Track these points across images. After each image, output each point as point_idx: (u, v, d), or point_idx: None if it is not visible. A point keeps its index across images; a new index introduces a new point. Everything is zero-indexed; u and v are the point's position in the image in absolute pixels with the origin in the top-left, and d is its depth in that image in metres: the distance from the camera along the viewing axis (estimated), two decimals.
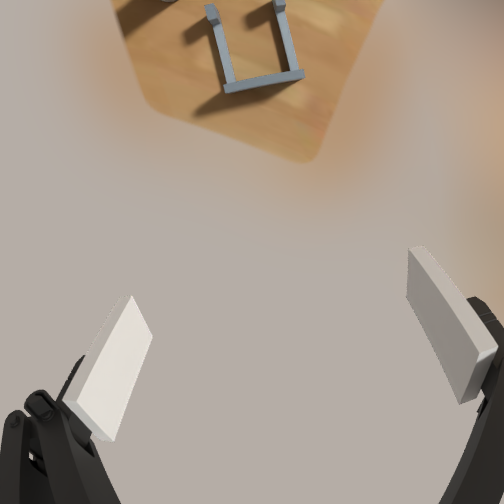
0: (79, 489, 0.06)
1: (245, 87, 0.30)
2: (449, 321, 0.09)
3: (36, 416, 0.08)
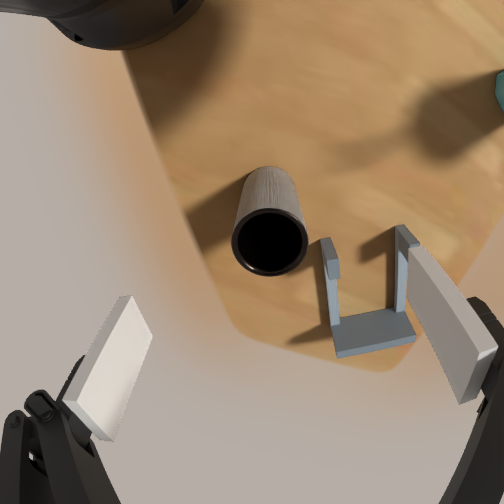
0: (78, 489, 0.06)
1: (358, 353, 0.30)
2: (449, 321, 0.09)
3: (36, 416, 0.08)
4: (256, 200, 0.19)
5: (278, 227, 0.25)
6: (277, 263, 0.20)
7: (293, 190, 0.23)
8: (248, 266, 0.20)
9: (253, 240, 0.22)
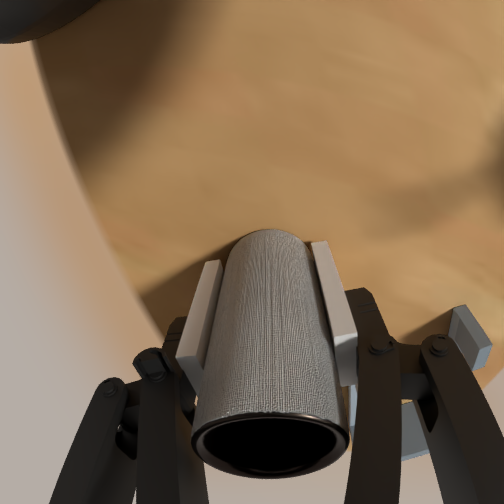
0: (170, 469, 0.07)
1: None
2: (326, 308, 0.12)
3: (143, 374, 0.10)
4: (242, 364, 0.08)
5: None
6: (283, 454, 0.09)
7: (316, 295, 0.12)
8: (228, 470, 0.09)
9: None
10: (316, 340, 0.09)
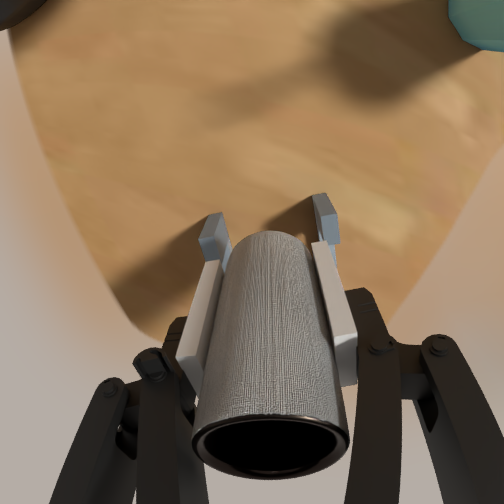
0: (171, 469, 0.07)
1: None
2: (325, 308, 0.12)
3: (143, 374, 0.10)
4: (242, 366, 0.08)
5: None
6: (283, 455, 0.09)
7: (317, 296, 0.12)
8: (229, 471, 0.09)
9: None
10: (316, 342, 0.09)
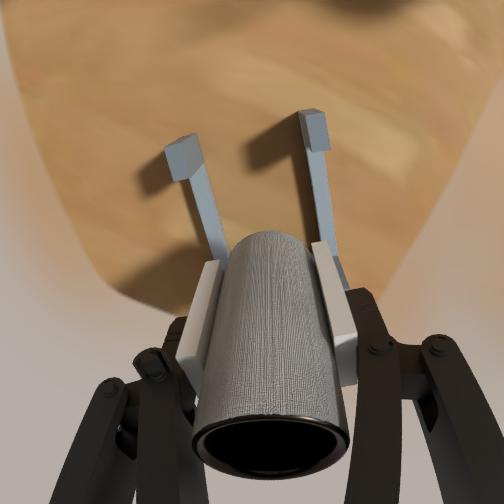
0: (170, 469, 0.07)
1: None
2: (326, 308, 0.12)
3: (143, 374, 0.10)
4: (242, 367, 0.08)
5: None
6: (283, 455, 0.09)
7: (317, 296, 0.12)
8: (229, 471, 0.09)
9: None
10: (316, 342, 0.09)
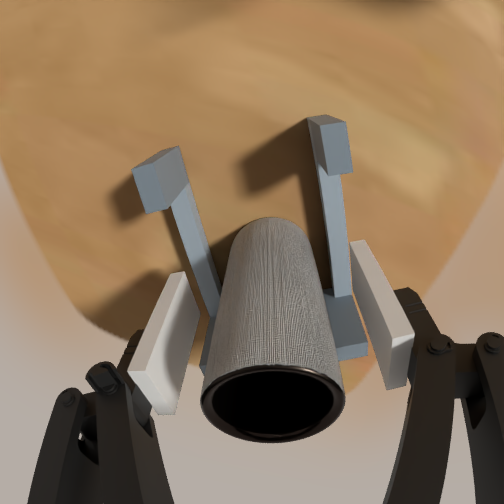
0: (131, 474, 0.06)
1: None
2: (374, 309, 0.11)
3: (97, 388, 0.09)
4: (247, 327, 0.10)
5: None
6: (285, 419, 0.11)
7: (314, 273, 0.13)
8: (234, 433, 0.10)
9: None
10: (313, 309, 0.11)
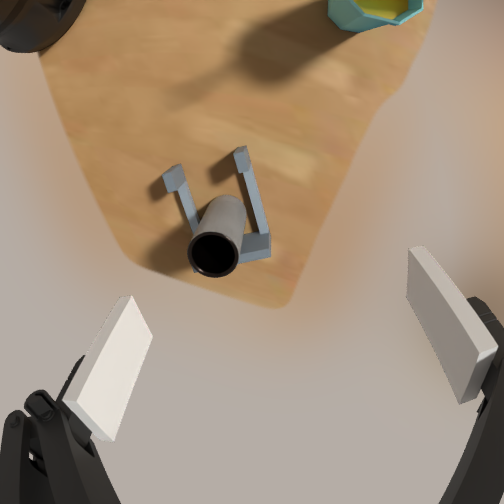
0: (79, 489, 0.06)
1: None
2: (449, 321, 0.09)
3: (36, 416, 0.08)
4: (204, 225, 0.28)
5: None
6: (221, 268, 0.29)
7: (237, 214, 0.32)
8: (200, 271, 0.28)
9: (208, 252, 0.31)
10: (230, 222, 0.29)
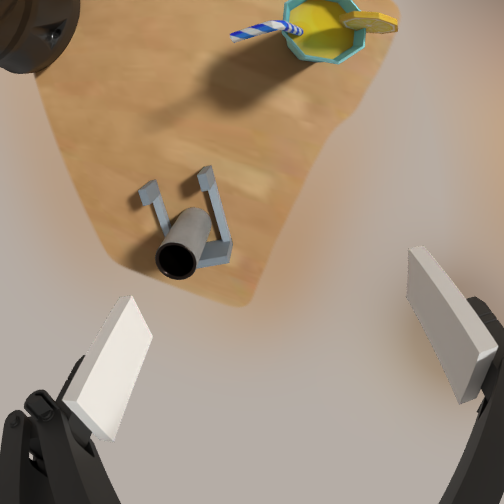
0: (79, 489, 0.06)
1: None
2: (449, 321, 0.09)
3: (36, 416, 0.08)
4: (169, 236, 0.33)
5: None
6: (183, 272, 0.34)
7: (200, 226, 0.37)
8: (166, 273, 0.34)
9: (175, 257, 0.37)
10: (192, 234, 0.35)
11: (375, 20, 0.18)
